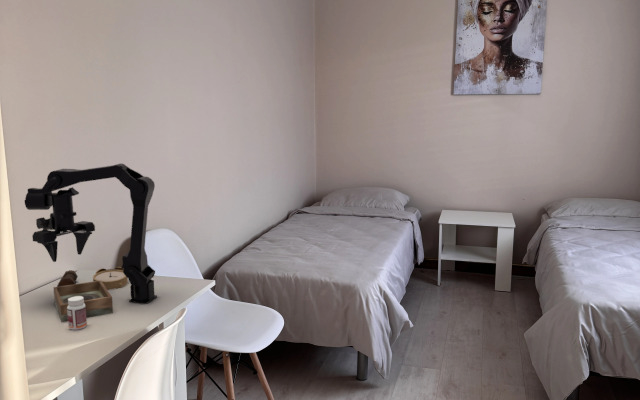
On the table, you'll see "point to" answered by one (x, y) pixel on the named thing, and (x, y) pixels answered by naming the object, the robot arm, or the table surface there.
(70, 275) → the brown tall rounded piece
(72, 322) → the pill bottle
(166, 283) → the table surface
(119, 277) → the alarm clock
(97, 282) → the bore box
